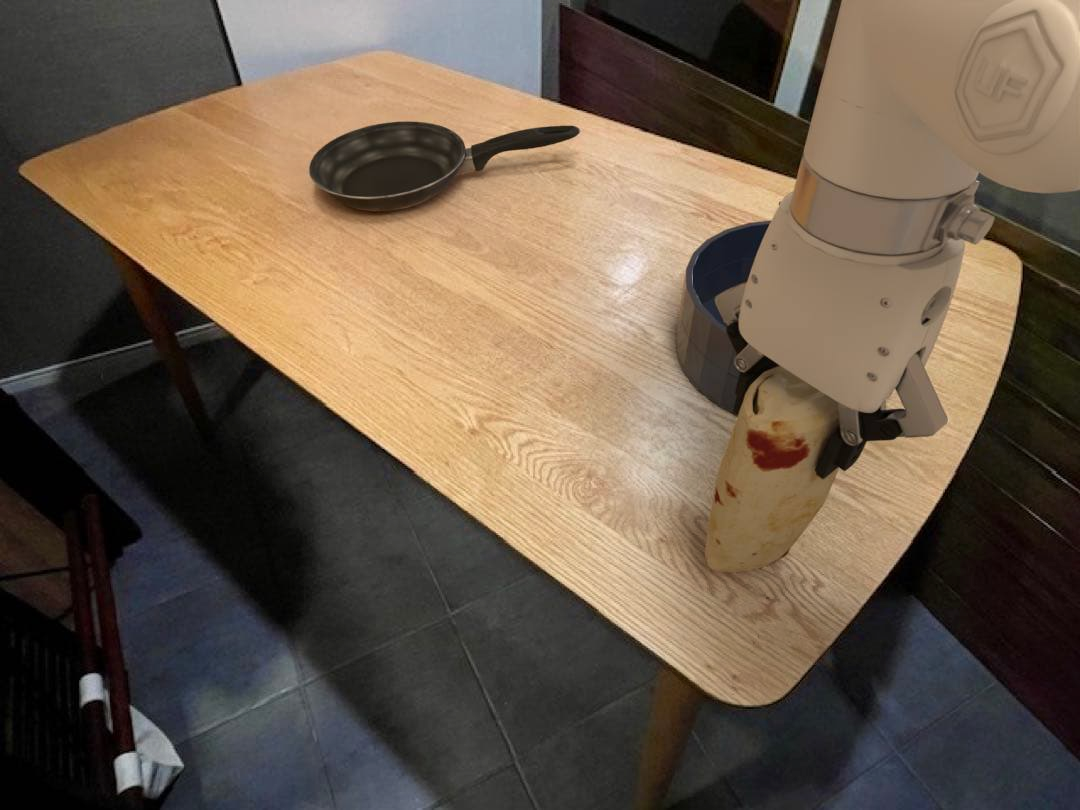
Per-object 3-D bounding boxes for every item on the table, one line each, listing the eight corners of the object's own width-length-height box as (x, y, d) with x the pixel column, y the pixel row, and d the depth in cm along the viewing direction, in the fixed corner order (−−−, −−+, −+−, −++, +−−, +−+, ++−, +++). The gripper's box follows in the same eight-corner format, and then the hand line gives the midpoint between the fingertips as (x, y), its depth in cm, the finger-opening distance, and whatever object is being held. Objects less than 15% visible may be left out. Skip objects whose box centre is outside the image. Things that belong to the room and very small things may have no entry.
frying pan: (306, 232, 98) (291, 191, 93) (329, 154, 114) (318, 116, 109) (590, 209, 98) (590, 167, 93) (572, 135, 115) (571, 97, 110)
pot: (936, 360, 73) (976, 290, 66) (799, 468, 64) (828, 401, 57) (766, 265, 87) (784, 198, 79) (633, 342, 78) (639, 275, 70)
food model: (726, 603, 52) (781, 446, 37) (679, 539, 56) (712, 376, 41) (821, 554, 54) (907, 389, 40) (769, 497, 59) (829, 328, 44)
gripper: (1104, 241, 28) (938, 486, 41) (780, 120, 38) (730, 348, 51) (1016, 312, 25) (868, 551, 38) (690, 161, 35) (661, 392, 48)
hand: (789, 433), depth 44 cm, fingers closed on food model, 6 cm apart
